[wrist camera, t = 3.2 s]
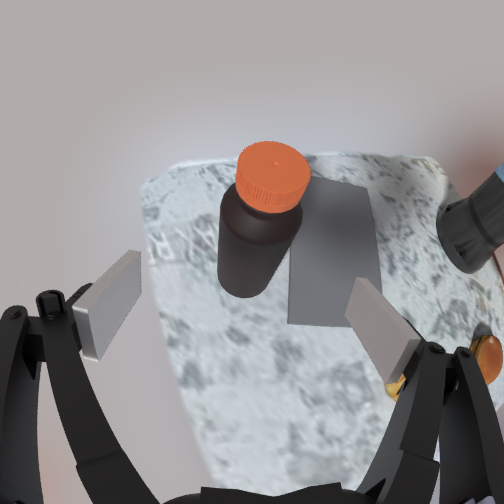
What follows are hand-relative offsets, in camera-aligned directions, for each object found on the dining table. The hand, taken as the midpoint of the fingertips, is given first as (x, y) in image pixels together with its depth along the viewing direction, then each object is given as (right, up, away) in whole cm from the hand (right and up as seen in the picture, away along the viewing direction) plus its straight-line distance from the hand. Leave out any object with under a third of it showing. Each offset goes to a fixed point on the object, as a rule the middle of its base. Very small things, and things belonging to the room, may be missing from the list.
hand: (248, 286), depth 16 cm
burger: (+42, -18, +18) cm, 49 cm away
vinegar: (-1, -1, +19) cm, 20 cm away
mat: (+12, +3, +23) cm, 26 cm away
